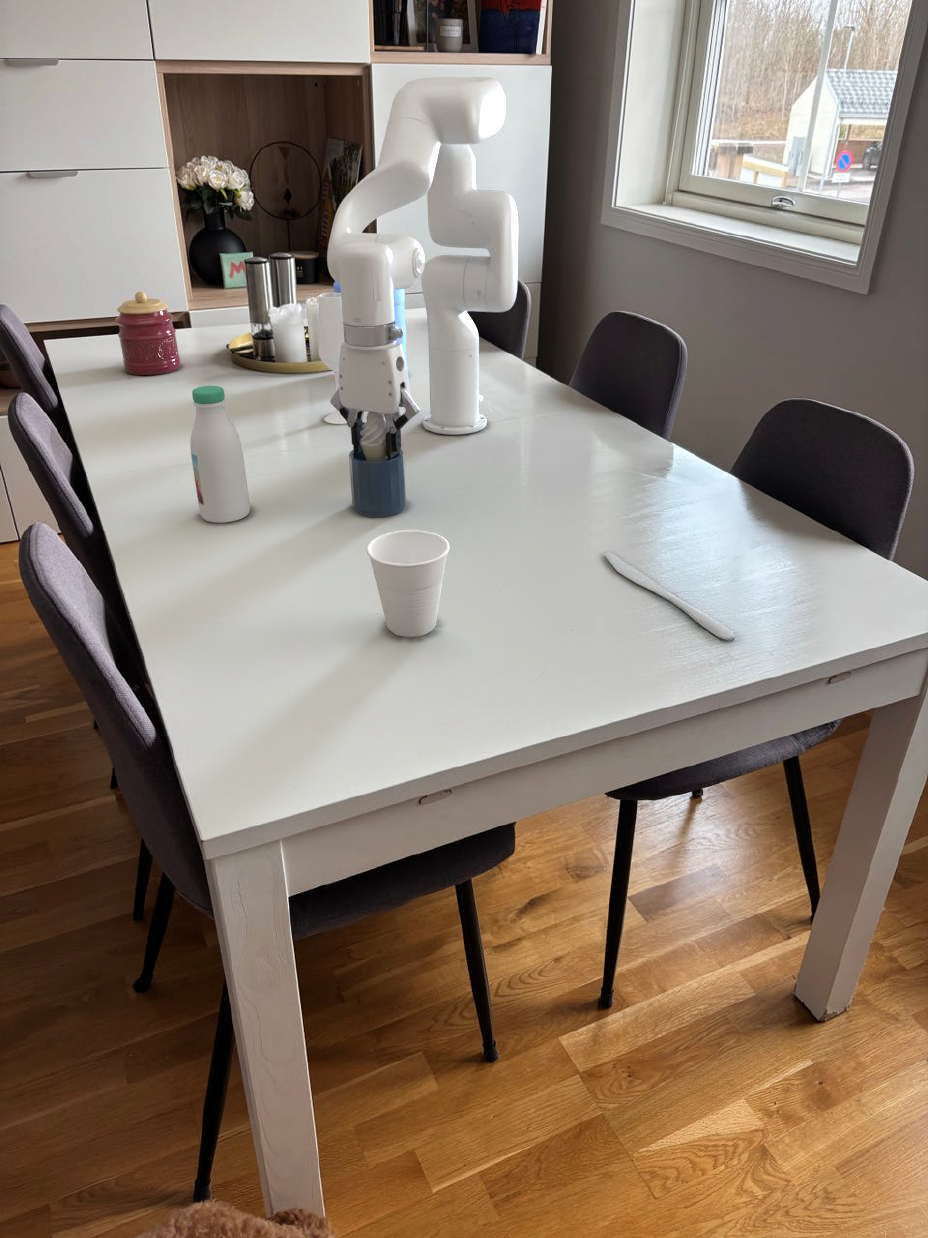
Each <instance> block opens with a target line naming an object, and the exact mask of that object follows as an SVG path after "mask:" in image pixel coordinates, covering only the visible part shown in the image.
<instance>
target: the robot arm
mask: <svg viewBox="0 0 928 1238" xmlns="http://www.w3.org/2000/svg"><path fill="white" fill-rule="evenodd" d="M506 108H507V103H506V94H505V92H504V88H503V87H502V85H501V83H500V82H499V81H498V80H497V79H496V78H494V77H487V76H485V77H483V76H470V77H469V76H468V77H467V76H465V77H464V76H461V77H458V76H457V77H454V76H453V77H452V76H451V77H450V76H448V77H447V76H441V77H440V76H438V77H437V76H435V77H421V78H416V79H412V80H410V81H408V82H406V83H405V84H404V85H403V86H402V87H401V88H400V89H399V90H398V91H397V92H396V94H395V95H394V98H393V101H392V104H391V107H390V113H389V117H388V120H387V124H386V129H385V133H384V137H383V142H382V145H381V149H380V154H379V158H378V163H377V166H376V168H374V169H373V170H372V171H371V172H369V173H368V174H367V175H366V176H365V177H363V178H362V179H361V180H360V181H359V182H358V183H357V184H356V185H355V186H353V188H352V189H351V190H350V191H349V192H348V193H347V194H346V195H345V197H344V198H343V199H342V201H341V202H340V204H339V206H338V208H337V209H336V213H335V215H334V219H333V223H332V227H331V232H330V236H329V240H328V246H327V253H326V258H327V259H326V261H327V268H328V269H327V270H328V272H329V274H330V277H331V278H332V279H333V281H334V282H335V281H336V282H337V283H339V284H340V289H341V302H342V316H343V329H344V342H342V343H341V349H340V356H339V388H338V390H337V391H336V390H335V392H334V394H333V395H332V397H331V398H330V400H329V402H330V404H331V405H332V406H333V408H335V410H338V411H339V412H340V414H341V415H342V417H343V418H344V419H345V420H346V421H347V423H346V426H347V427H348V428H349V429H350V438H351V445H352V450H354V453H358V452H360V451H362V450H363V449H362V446H361V444H360V441H361V438H363V436H362V435H361V434H360V432H361V431H362V430H363V429H362V426H363V425H364V424H365V423H366V422H363V419H364V418H363V417H364V413H365V412H367V413H368V412H374V413H381V414H384V420H385V421H386V423H387V427H388V430H389V432H387V433H386V452H387V457H388V458H392V457H394V456H395V455H397V454H398V453H399V452H400V450H401V449H402V429H403V428H404V427H405V426H406V425H407V424H408V423H409V421H411V419H413V418H415V417H416V416H417V415H418V414H419V413H420V408H419V407H418V405H417V404H416V402H415V401H414V400H413V398H412V397H411V391H410V383H409V382H410V381H409V373H408V365H407V366H406V363H407V359H406V360H405V356H404V352H403V348H402V345H401V343H400V342H396V340H397V338H402V336H403V330H402V329H398V328H397V327H396V322H395V315H394V294H393V291H394V290H400V289H404V290H407V289H410V288H411V287H413V286H414V285H416V284H417V283H418V282H419V280H421V282H420V283H421V288H422V294H423V295H422V296H423V301H424V304H425V305H424V306H425V312H426V320H427V336H428V337H427V338H428V339H427V341H428V376H429V377H428V380H429V405H430V406H429V411H430V412H429V414H427V415H425V416H424V417H423V418H422V426H423V428H424V429H425V430H427V431H429V432H431V433H435V434H440V435H441V434H442V435H449V436H451V435H452V436H453V435H455V436H456V435H467V434H473V433H476V432H477V433H478V432H479V431H482V430H483V429H485V428H486V427H487V424H488V418H487V417H486V416H485V415H484V414H482V413H480V405H481V404H482V403H483V402H484V397H483V395H482V394H480V337H479V331H478V328H477V326H476V324H475V322H474V321H473V319H472V317H471V316H470V314H469V313H468V312H485V313H504V312H507V311H509V310H511V309H512V307H513V306H515V305H514V304H515V302H516V299H517V293H518V277H519V276H518V275H519V273H518V272H519V271H518V270H519V269H518V267H519V263H518V262H519V217H518V209H517V205H516V201H515V199H514V198H513V197H512V195H511V194H509V193H508V192H506V191H503V190H497V189H478V188H477V185H476V184H477V183H476V157H475V155H474V154H475V153H474V152H473V150H472V148H471V146H470V145H478V144H482V143H483V142H485V141H487V140H489V139H492V138H493V137H495V136H496V135H497V134H498V133H499V132H500V131H501V128H502V126H503V124H504V122H505V117H506V110H507V109H506ZM426 195H427V196H426ZM424 196H426V197H427V198H426V200H427V222H428V231H429V236H430V238H431V240H432V241H433V243H434V244H435V245H438V246H440V247H446V248H456V249H457V248H459V249H484V250H487V252H488V254H489V255H488V256H487V255H486V256H485V255H472V254H471V255H469V254H440V255H437V256H434V257H432V258H430V259H428V260H427V261H426V258H425V257H426V256H425V252H424V249H423V247H422V245H421V243H420V242H419V241H418V240H417V239H416V238H414V237H412V236H410V235H406V234H396V233H391V234H390V233H375V232H374V233H371V232H364V230H365V229H366V228H367V227H368V226H369V225H370V224H371V223H372V222H373V221H375V220H376V219H378V218H379V217H381V216H384V215H386V214H388V213H391V212H393V211H395V210H397V209H400V208H402V207H405V206H407V205H409V204H411V203H413V202H416V201H418V200H419V199H422V198H423V197H424ZM400 408H404V409H405V412H404V413H403V414H401V411H400Z"/></svg>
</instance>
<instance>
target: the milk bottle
mask: <svg viewBox="0 0 928 1238" xmlns="http://www.w3.org/2000/svg"><path fill="white" fill-rule="evenodd" d="M191 395H192V400H193V405H194V407H195V411H196V412H195V418H194V422H193V427H192V430H191V434H190V439H189V440H190V441H189V443H190V448H189V449H190V456H191V463H192V470H193V476H194V482H195V491H196V496H197V503H198V508H199V514H200V516H201V517H202V519H203V520H205V521H207V522H209V523H210V522H211V523H222V524H223V523H231V522H235V521H239V520H242V519H243V518H246V517H247V516H248V515H249V513H250V511H251V503H250V497H249V495H250V494H249V489H248V482H247V473H246V465H245V458H244V451H243V447H242V441H241V437H240V435H239V432H238V430H237V429H236V426H235V425H234V423H233V422H232V420H231V419H230V417H229V415H228V412H227V410H226V406H225V404H226V395H225V390H224V388H223V387H222V386H219V385H203V386H198V387H195V388H193V390H192V391H191Z"/></svg>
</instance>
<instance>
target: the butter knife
mask: <svg viewBox="0 0 928 1238" xmlns="http://www.w3.org/2000/svg"><path fill="white" fill-rule="evenodd" d="M604 556H605V558H606V560H607V561H608V563H610V565H611V566H612V567H613V569H615V570H616V572H617V573H619V574H620V575H622V576H623V577H625V578H627V579H629V580H631V581H632V582H633V583H635V584H637V585H639V586H640V587H643V588H645V589H648V590H650V591H651V592H654V593H656V594H657V595H659V596H661V597H662V598H664V599H666V600H668V601H670V602H672V604H674V605H675V606H677V607H678V608H679V609H681V610H682V611H683V612H685V613H686V614H687V615H688V616H690V618H692V619H693V620H694V621H695V622H696V623H698V624H699V625H700V626H702V627H703V628H705V629H706V630H707V631H709V632H710V633H712V634H713V635H715V636H716V637H717V638H720V639H723V640H728V641H731V640H733V639H735V637H736V635H735V633H734V631H733V630H731V629H730V628H729V627H727V626H726V625H725V624H722V623H721V622H720V621H718V620H717V619H715V618H714V617H711V616H710V615H709V614H707V613H705V612H704V611H701V610H699V609H698V608H696V607H694V606H693V605H691V604H689V603H687V602H686V601H685V600H683V599H681V598H679V597H678V596H676V595H675V594H674V593H672V592H670V591H668V590H666V588H664V587H662V586H661V585H659V584H658V583H656V582H655V581H654V580H652V579H651V578H650V577H648V576H646V575H645V574H644V573H643V572H640V570H637V569H636V568H635V567H633V566H631V565H630V564H628V563H627V562H625V561H624V560H622V559H621V557H619V556H617V555H615V554H614V553H613V552H609V551H608V552H605V553H604Z"/></svg>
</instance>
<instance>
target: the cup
mask: <svg viewBox="0 0 928 1238" xmlns="http://www.w3.org/2000/svg"><path fill="white" fill-rule="evenodd" d="M365 549H366V554H367V556H368V557H369V558H370V563H371V566H372V571H373V575H374V579H375V583H376V587H377V591H378V595H379V599H380V604H381V608H382V612H383V616H384V619H385V624H386V627H387V629H388V631H390V632H391V633H393V634H394V635H396V636H399V637H403V638H417V637H422V636H425V635H427V634H429V633H430V632H431V631H432V630H433V629H434V628H435V627H436V626H437V620H438V615H439V608H440V607H439V606H440V600H441V594H442V589H443V588H442V587H443V581H444V577H445V569H446V563H447V557H448V556H447V555H448V553H449V552H450V543H449V541H448V540H447V539H446V538H445V537H443V536H442V535H439V534H438V533H435V532H432V531H428V530H421V529H403V530H401V529H400V530H395V531H391V532H390V531H389V532H386V533H383V534H380V535H378V536H375V537H374V538H373V539H372V540H371V541H369V543H368V544H367V546H366V548H365Z"/></svg>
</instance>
